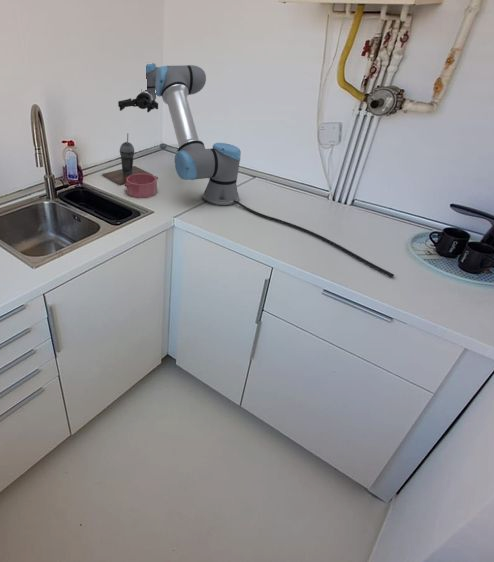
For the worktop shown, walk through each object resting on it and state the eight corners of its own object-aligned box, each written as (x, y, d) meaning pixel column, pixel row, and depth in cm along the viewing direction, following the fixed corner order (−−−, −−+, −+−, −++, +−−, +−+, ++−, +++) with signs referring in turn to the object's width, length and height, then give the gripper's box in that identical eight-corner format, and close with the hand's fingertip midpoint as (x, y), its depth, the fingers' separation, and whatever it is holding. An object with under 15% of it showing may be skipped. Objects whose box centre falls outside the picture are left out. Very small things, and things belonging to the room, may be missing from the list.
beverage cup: (130, 170, 191) (129, 129, 179) (137, 175, 186) (137, 133, 174) (117, 173, 187) (115, 132, 176) (125, 177, 183) (123, 135, 171)
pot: (165, 191, 171) (165, 179, 168) (135, 201, 163) (134, 188, 159) (147, 182, 180) (147, 170, 176) (117, 191, 172) (117, 178, 168)
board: (153, 176, 187) (153, 174, 186) (119, 185, 177) (119, 183, 177) (134, 167, 197) (134, 165, 196) (102, 175, 187) (102, 173, 187)
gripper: (167, 109, 194) (159, 118, 177) (121, 106, 198) (109, 115, 181) (168, 93, 189) (159, 101, 173) (121, 90, 194) (108, 98, 177)
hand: (134, 108), depth 177 cm, fingers open, 13 cm apart
